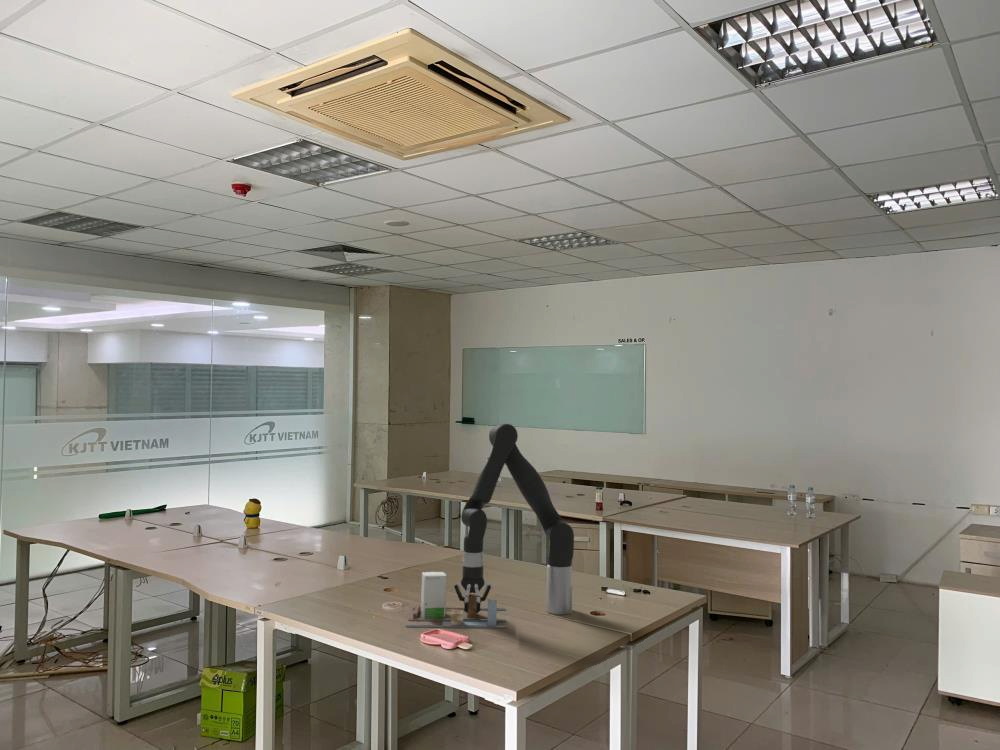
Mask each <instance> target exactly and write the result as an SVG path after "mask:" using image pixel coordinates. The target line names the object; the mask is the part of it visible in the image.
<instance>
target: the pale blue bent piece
mask: <svg viewBox="0 0 1000 750" xmlns="http://www.w3.org/2000/svg"><path fill="white" fill-rule="evenodd" d="M497 602H498V601H497V599H490V598H489V599H487V608H488V610H487V619H488V622H469V621H463V625H481V626H497V622H496V619H497V611H498V610H497V608H498V607H497V604H498V603H497ZM441 623H442V624H441V625H451V621H442V622H441Z"/></svg>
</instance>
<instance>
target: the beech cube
mask: <svg viewBox="0 0 1000 750" xmlns="http://www.w3.org/2000/svg"><path fill="white" fill-rule="evenodd" d="M450 618H451V625H463V622H464V621H463V618H464V611H463V610H452V611H450Z"/></svg>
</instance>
